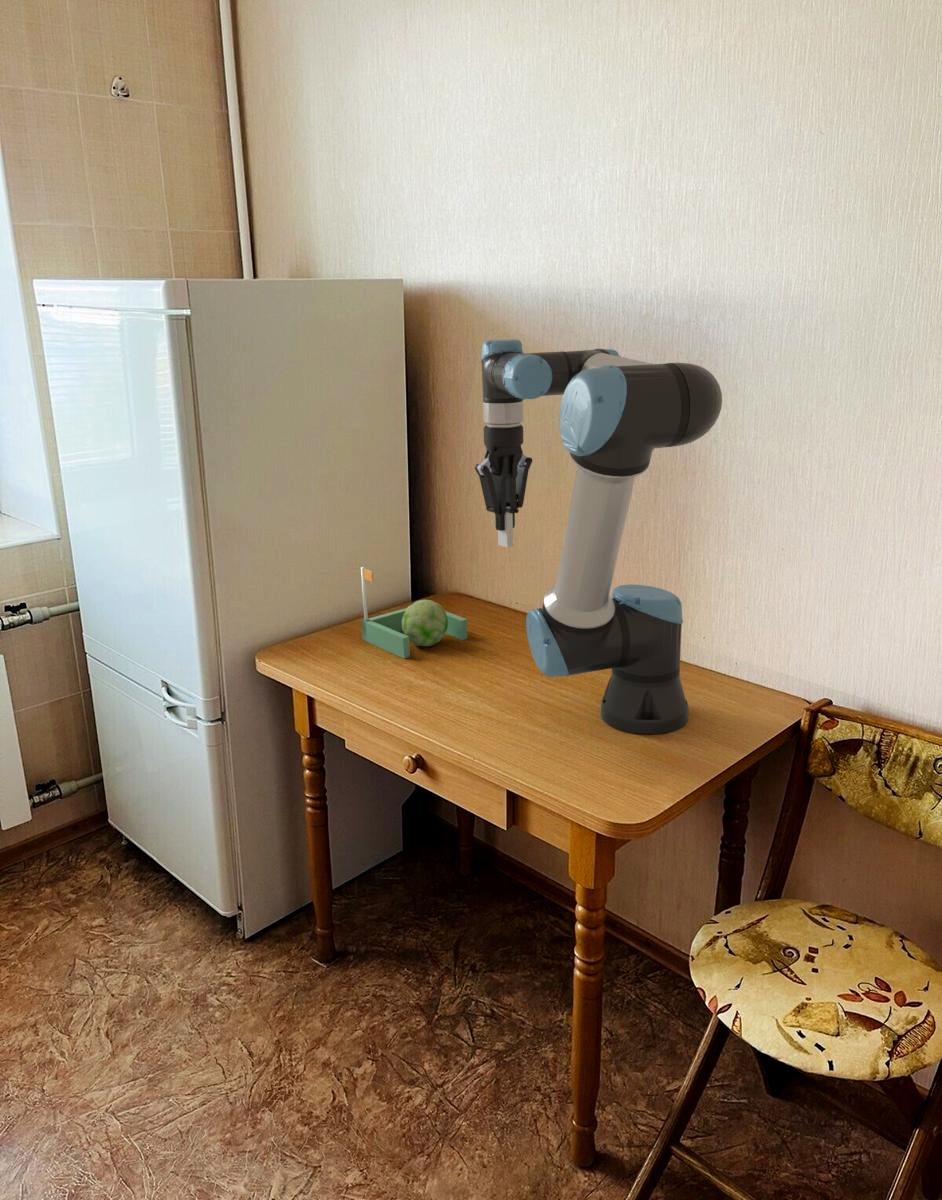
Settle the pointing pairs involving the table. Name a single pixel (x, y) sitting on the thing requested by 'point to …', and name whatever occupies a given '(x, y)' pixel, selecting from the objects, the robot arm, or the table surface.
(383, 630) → the cup
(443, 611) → the decorative ball
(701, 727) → the table surface
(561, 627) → the robot arm
